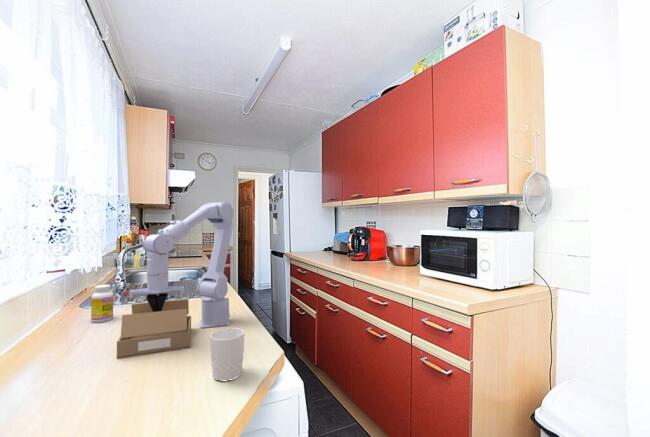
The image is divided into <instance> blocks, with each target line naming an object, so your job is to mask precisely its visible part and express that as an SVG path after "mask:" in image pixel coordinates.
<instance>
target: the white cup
mask: <svg viewBox="0 0 650 437" xmlns="http://www.w3.org/2000/svg"><path fill="white" fill-rule="evenodd" d="M209 337H210V359H211V367H212V369H211V371H212V378H213V377H214V378H215V379H217V380H229V379H233V378H235V377H237V376H239V375H240V374H241V375H242V372H243V361H244V353H245V352H244V350H245V330H244V329H241V328H238V327H227V328H226V327H225V328H222V329H217V330H215V331H213V332H212V333H211V334H210V335H209ZM239 377H240V376H239ZM214 378H213V379H214Z"/></svg>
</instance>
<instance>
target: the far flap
mask: <svg viewBox="0 0 650 437" xmlns="http://www.w3.org/2000/svg"><path fill="white" fill-rule="evenodd" d="M189 308H190V306H189V298H179V299H169V300H165V303H164V305H163V308H162V311H168V310H178V309H187V315H189V312H190V311H189ZM148 312H153V311H152V309H151V307H150V305H149V303H148V302H137V303H135V302H134V303H131V314H139V313H148Z"/></svg>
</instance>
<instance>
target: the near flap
mask: <svg viewBox="0 0 650 437" xmlns="http://www.w3.org/2000/svg"><path fill="white" fill-rule="evenodd" d="M121 316H122V317H121V329H120V336H121V338H125V337H133V336H141V335H149V334H157V333H165V332H173V331H181V330H187V316H188V314H187V309H178V310H168V311H158V312H148V313H139V314H132V313H131V314H130V313H129V314H122V315H121Z"/></svg>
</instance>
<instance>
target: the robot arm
mask: <svg viewBox="0 0 650 437" xmlns="http://www.w3.org/2000/svg"><path fill="white" fill-rule="evenodd" d="M234 214H235V209H234V208H233V206H232V204H231V203H229V202H228V201H222V202H219V201H218V202H210V201H209V202H207V203H205V204H202V205H201V206H199V208H198V209H197V210H195V211H194V212H193V213H191V214H190V215H188V216H187V217H185V218H184V219H183V220H171V221H170V222H169V225H167V226H166V227H164V228H163V229H158V230H157V233H156V234H150V235H148V236H147V237H146V238H145V239H144V242H143V243H142V245H141V246H142V249H143V250H144V252H145V254H146V287H144V288H140V289H139V288H137V289H130V290H129V292H128V298H129V299H133V298H138V297H146V301H147V302H148V303H149V305H150V307H151V309H152V311H153V312H158V311H162V308H163V305H164V303H165V301H167V299H168V296H169V295H174V294H177V295H178V294H182V295H183V294H185V286H184V285H181V286H179V285H178V286H175V285H174V286H171V285H169V253H170V252H172V250H173V247H174V245H176V244H177V243H178V242H180V241H181V240H183V238H185V237H187V236H188V235H189V233H190V231H189V230H191V229H192V228H194V227H195V226H197V225H199V224H201V223H202V222H204V221H205V220H207V221H209V223H211V224H212V225H213V226H214V227H215V229H216V233H215V237H214V241H213V246H212V250H211V253H210V259H209V263H208V269H207V271H206V272H205V273H204V274H202V276H201V279H200V281H199V283H198V284H197V287H196V291H197V294H198V296H200V300H201V320H200V328H201V329H205V328H207V329H208V328H212V327H220V326H229V325H230V316H231V315H230V299H229V297H226V296H227V294H228V290H229V289H228V280H229V279H228V277H227V275H225V273H224V272H225V266H226V262H227V257H228V252H229V247H230V243H231V238H232V233H233V227H234V226H233V225H234V223H233V220H234V219H233V218H234Z"/></svg>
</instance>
